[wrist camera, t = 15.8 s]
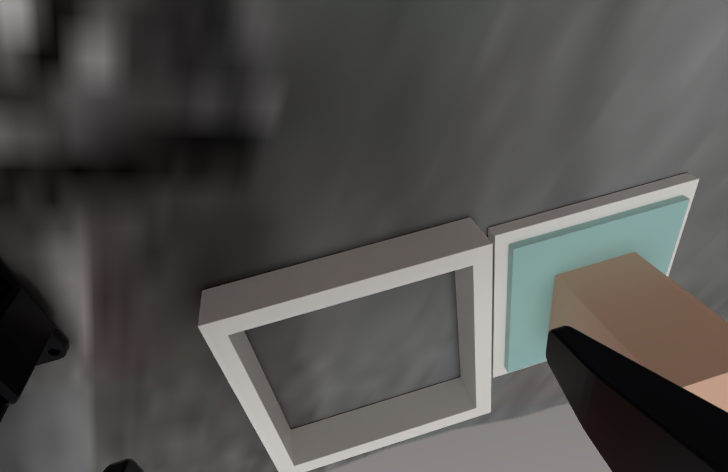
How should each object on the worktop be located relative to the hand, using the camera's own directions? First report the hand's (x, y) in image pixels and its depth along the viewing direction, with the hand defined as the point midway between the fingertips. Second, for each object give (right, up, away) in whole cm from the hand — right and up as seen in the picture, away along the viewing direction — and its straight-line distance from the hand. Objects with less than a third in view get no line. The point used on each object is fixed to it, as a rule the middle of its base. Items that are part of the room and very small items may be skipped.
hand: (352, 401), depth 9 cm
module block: (+14, 0, +17) cm, 22 cm away
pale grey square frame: (0, -3, +17) cm, 17 cm away
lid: (+14, +1, +18) cm, 23 cm away
